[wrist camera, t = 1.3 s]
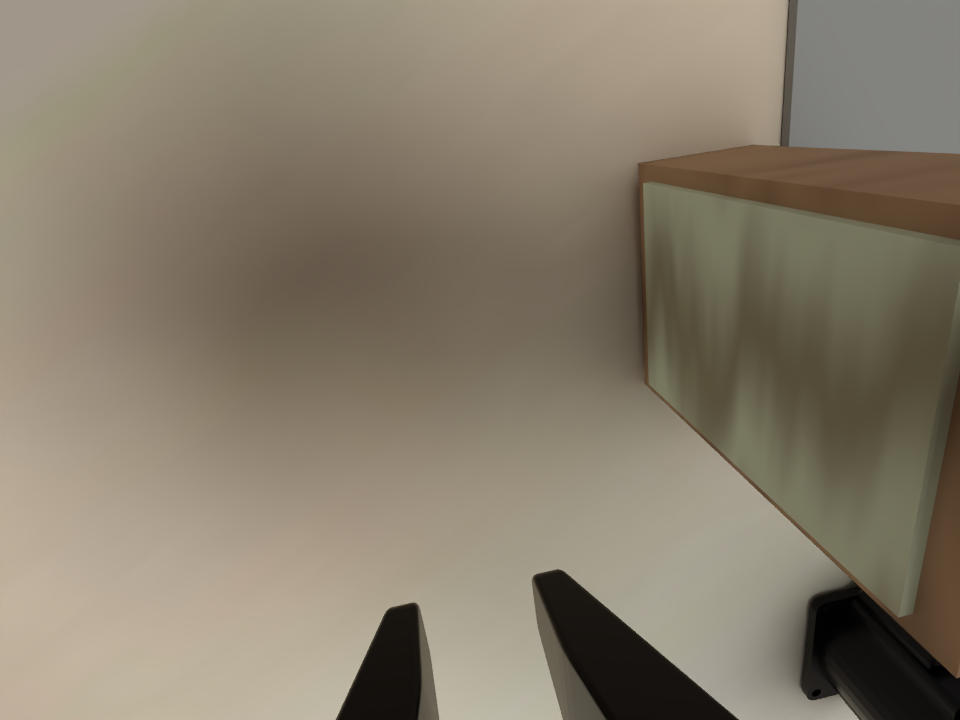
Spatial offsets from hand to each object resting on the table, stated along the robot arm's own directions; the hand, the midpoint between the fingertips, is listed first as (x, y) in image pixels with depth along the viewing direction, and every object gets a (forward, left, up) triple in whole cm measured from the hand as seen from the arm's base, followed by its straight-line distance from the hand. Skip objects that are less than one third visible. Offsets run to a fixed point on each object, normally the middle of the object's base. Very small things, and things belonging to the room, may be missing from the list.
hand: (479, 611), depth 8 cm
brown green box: (0, -10, -13) cm, 16 cm away
